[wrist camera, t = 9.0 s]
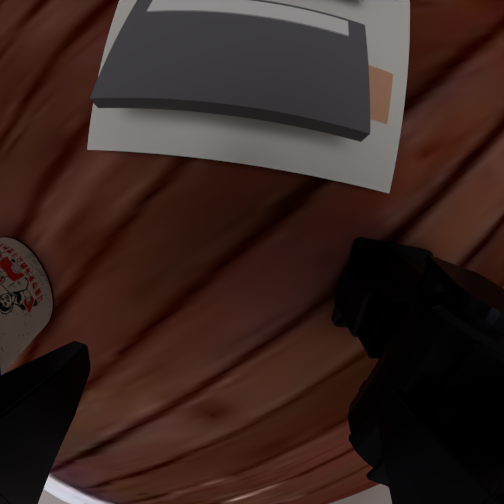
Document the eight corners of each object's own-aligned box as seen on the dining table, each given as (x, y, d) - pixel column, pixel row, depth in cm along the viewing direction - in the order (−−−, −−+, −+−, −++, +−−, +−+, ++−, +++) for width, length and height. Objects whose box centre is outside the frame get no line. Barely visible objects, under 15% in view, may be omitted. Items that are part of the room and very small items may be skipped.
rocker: (358, 35, 12) (365, 23, 11) (360, 142, 12) (371, 132, 11) (142, 7, 11) (138, -5, 10) (98, 108, 11) (88, 97, 10)
